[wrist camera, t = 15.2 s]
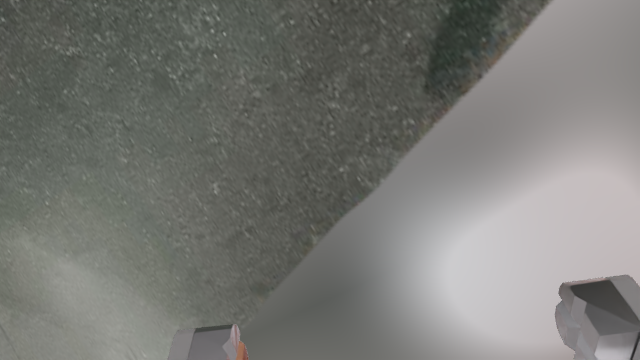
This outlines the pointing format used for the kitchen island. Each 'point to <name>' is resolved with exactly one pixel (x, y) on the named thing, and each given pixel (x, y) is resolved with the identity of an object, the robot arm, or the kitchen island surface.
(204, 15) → the kitchen island surface
